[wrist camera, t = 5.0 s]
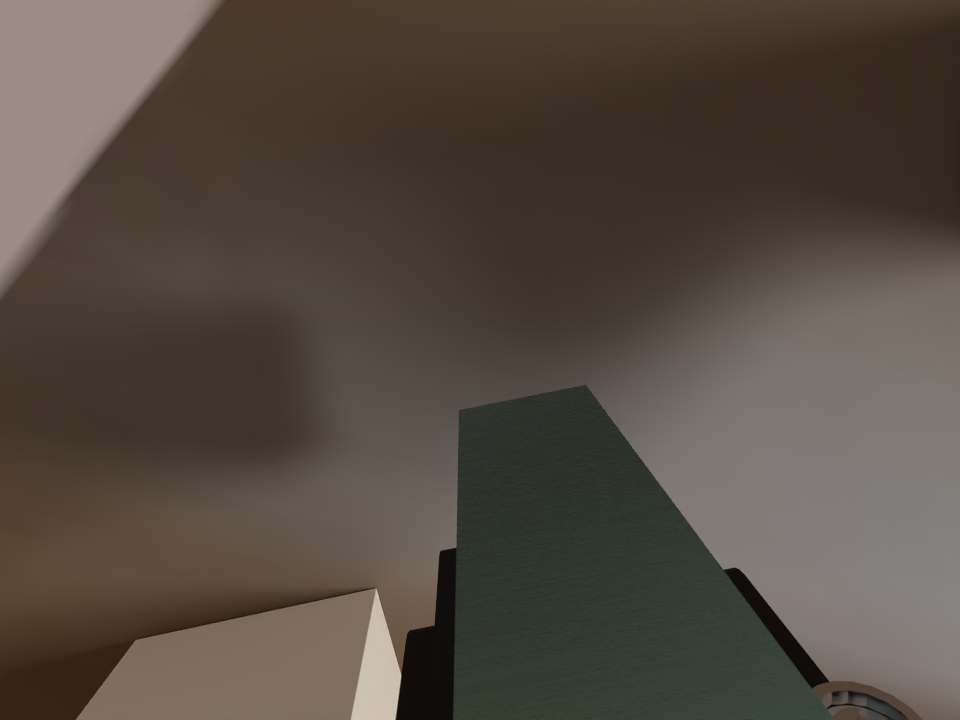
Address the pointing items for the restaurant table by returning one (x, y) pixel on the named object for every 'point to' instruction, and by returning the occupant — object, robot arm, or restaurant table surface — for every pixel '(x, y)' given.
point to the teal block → (595, 584)
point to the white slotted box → (262, 668)
